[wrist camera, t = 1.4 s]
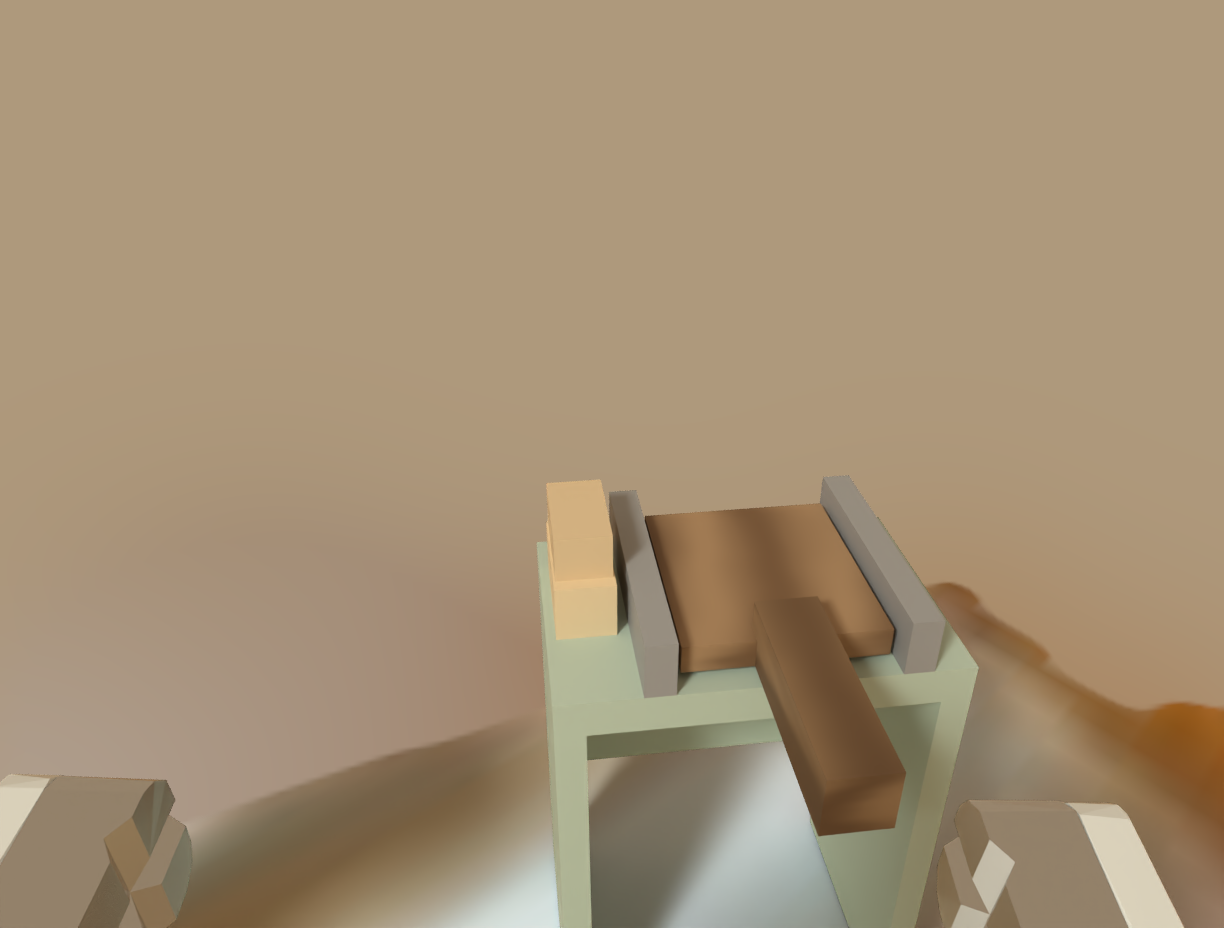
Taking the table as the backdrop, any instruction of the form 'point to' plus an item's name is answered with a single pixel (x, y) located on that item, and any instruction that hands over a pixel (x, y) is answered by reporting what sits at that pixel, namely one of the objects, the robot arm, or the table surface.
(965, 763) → the table surface
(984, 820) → the robot arm
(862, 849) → the stand
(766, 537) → the board with handle
